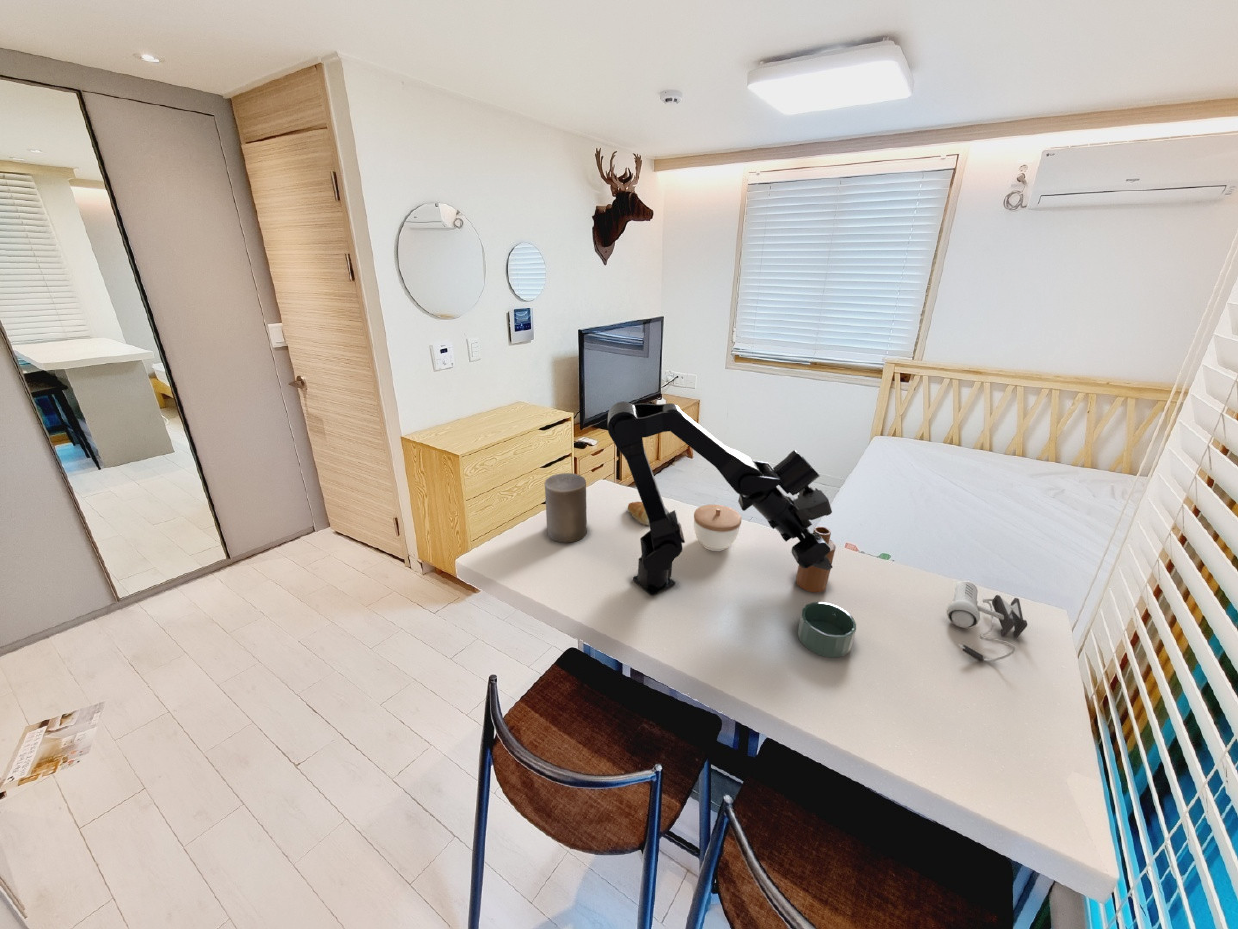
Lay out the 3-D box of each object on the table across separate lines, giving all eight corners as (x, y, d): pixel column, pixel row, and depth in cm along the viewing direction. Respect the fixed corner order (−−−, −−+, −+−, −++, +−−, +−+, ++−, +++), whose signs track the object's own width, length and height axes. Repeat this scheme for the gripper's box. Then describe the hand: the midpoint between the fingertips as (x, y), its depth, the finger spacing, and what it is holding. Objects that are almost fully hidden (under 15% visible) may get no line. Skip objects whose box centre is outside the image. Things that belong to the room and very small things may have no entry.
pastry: (621, 512, 130) (621, 499, 129) (640, 505, 135) (640, 492, 133) (645, 527, 124) (646, 514, 123) (665, 519, 128) (666, 506, 127)
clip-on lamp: (1013, 689, 85) (1016, 612, 97) (1032, 669, 81) (1032, 591, 93) (936, 655, 90) (947, 586, 102) (949, 634, 86) (959, 565, 98)
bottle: (814, 596, 101) (827, 542, 96) (789, 581, 106) (800, 528, 100) (831, 585, 105) (844, 532, 99) (807, 571, 109) (818, 519, 104)
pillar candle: (595, 531, 122) (595, 476, 116) (565, 548, 115) (564, 490, 109) (567, 517, 128) (566, 464, 122) (538, 532, 121) (535, 476, 115)
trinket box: (696, 528, 124) (699, 494, 120) (740, 537, 121) (745, 502, 117) (687, 551, 115) (690, 515, 111) (734, 561, 112) (739, 525, 108)
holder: (831, 666, 85) (837, 645, 83) (787, 634, 92) (791, 614, 90) (861, 643, 90) (866, 623, 88) (816, 614, 96) (820, 595, 95)
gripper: (828, 505, 87) (877, 558, 91) (793, 461, 104) (835, 507, 108) (777, 543, 90) (826, 593, 95) (750, 494, 107) (793, 538, 112)
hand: (821, 554), depth 102 cm, fingers open, 9 cm apart
